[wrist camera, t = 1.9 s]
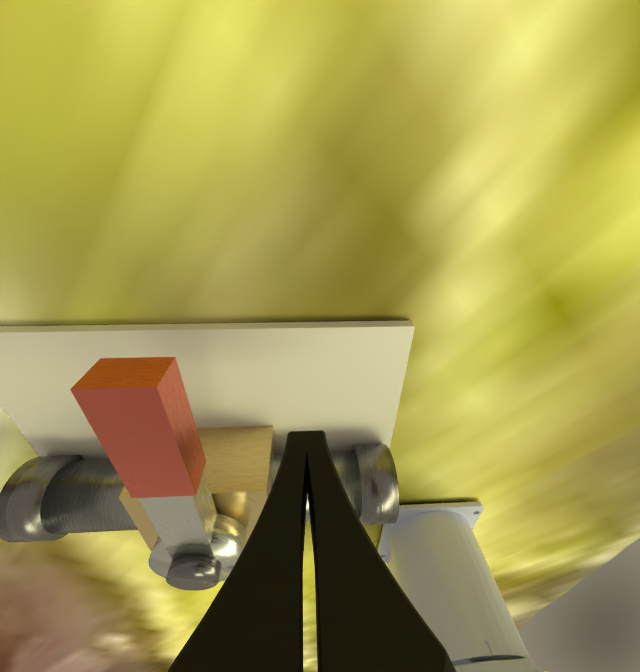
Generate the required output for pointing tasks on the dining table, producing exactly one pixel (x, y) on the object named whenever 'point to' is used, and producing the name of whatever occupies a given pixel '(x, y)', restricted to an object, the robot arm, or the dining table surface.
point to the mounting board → (216, 377)
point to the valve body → (221, 473)
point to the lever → (161, 465)
